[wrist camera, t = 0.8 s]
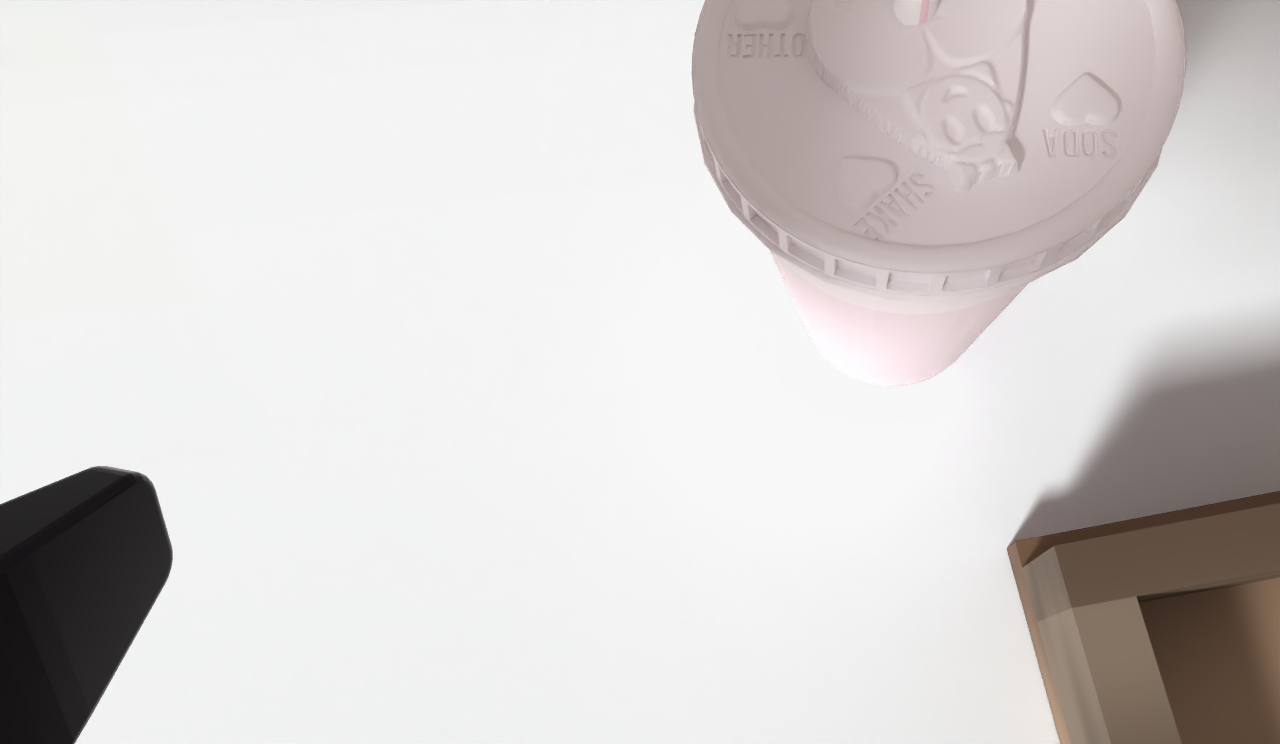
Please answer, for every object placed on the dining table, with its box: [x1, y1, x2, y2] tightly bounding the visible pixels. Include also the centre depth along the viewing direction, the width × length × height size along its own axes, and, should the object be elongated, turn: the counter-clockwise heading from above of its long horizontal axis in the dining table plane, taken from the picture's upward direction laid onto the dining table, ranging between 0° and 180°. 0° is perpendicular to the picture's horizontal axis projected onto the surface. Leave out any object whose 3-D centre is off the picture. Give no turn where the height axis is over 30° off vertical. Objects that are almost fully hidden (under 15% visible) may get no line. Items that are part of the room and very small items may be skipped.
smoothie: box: [692, 0, 1186, 386], centre depth 17 cm, size 6×6×14 cm
